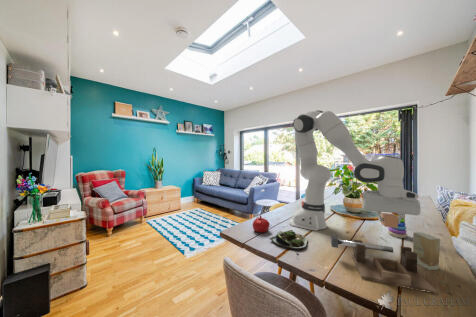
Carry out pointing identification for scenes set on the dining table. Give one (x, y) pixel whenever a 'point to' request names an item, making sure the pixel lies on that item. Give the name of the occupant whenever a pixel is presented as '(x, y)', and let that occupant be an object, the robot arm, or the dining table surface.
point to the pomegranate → (260, 225)
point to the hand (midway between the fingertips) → (389, 221)
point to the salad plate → (290, 240)
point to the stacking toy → (398, 229)
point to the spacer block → (389, 220)
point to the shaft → (336, 241)
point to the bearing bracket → (391, 269)
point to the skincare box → (426, 250)
